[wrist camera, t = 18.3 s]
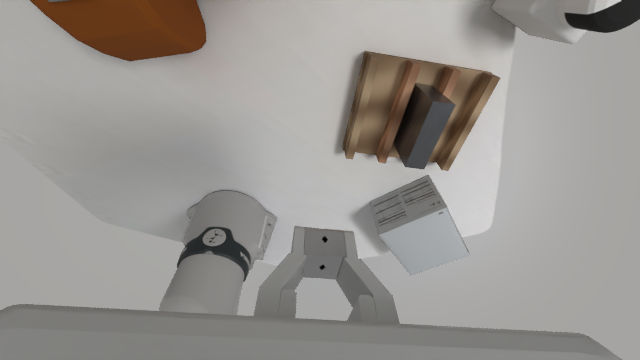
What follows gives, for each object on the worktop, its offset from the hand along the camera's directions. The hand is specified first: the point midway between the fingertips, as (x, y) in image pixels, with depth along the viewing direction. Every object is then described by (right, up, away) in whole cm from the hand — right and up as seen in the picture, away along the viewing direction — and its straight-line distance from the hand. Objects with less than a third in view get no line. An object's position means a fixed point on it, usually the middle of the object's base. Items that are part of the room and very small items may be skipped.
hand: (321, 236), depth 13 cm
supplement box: (+21, -4, +43) cm, 48 cm away
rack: (+15, +14, +29) cm, 35 cm away
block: (+15, +13, +28) cm, 34 cm away
